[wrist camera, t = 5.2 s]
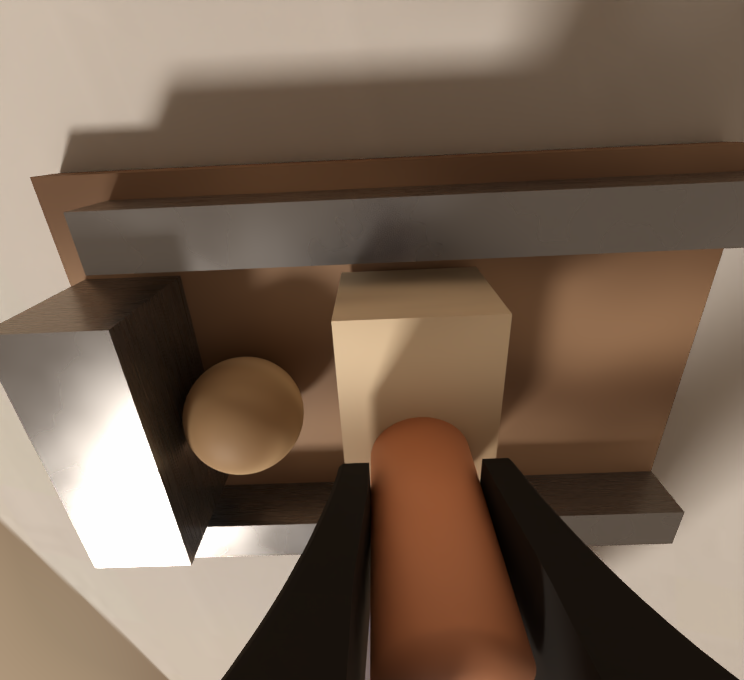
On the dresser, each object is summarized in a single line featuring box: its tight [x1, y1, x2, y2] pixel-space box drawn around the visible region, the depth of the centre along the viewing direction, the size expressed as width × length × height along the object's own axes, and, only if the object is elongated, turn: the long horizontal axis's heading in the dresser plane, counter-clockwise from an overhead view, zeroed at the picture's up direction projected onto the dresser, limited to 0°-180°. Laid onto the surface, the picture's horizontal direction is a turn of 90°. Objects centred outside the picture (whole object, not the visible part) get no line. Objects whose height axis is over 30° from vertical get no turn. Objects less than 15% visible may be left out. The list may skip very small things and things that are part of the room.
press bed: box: [0, 142, 744, 568], centre depth 13 cm, size 14×20×5 cm
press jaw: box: [331, 267, 536, 680], centre depth 11 cm, size 8×4×9 cm, turn 2°
